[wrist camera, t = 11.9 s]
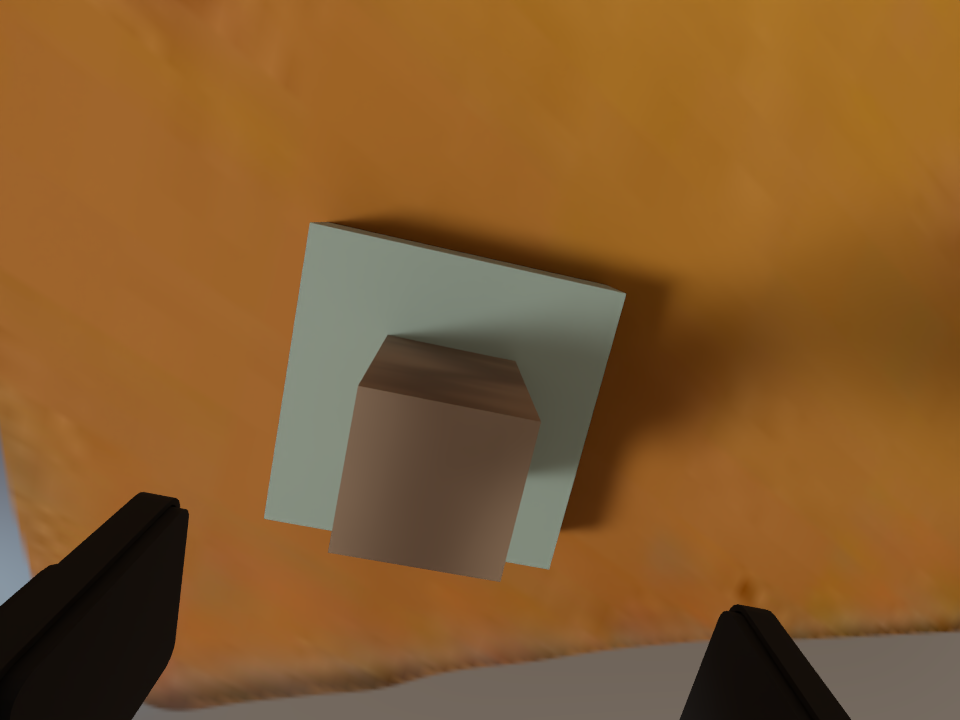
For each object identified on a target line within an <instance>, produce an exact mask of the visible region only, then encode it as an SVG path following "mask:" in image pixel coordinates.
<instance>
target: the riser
mask: <svg viewBox="0 0 960 720" xmlns="http://www.w3.org/2000/svg"><path fill="white" fill-rule="evenodd" d="M625 297H626V293H624V292H621V291H619V290H617V289H615V288H612V287H610V286H608V285H604V284H600V283H596V282H591V281H587V280H582V279H578V278H573V277H569V276H565V275H560V274H556V273H551V272H547V271H542V270H538V269H533V268H529V267H525V266H520V265H516V264H511V263H507V262H502V261H498V260H494V259H489V258H485V257H480V256H476V255H471V254H467V253H463V252H458V251H454V250H449V249H445V248H440V247H436V246H431V245H427V244H423V243H418V242H414V241H409V240H405V239H400V238H396V237H392V236H387V235H383V234H378V233H374V232H369V231H365V230H361V229H356V228H352V227H347V226H343V225H338V224H334V223H330V222H311V223H310V226H309V232H308V239H307V245H306V252H305V258H304V264H303V271H302V277H301V284H300V290H299V297H298V303H297V309H296V316H295V322H294V329H293V335H292V342H291V348H290V355H289V361H288V367H287V374H286V380H285V387H284V393H283V400H282V406H281V412H280V419H279V425H278V432H277V438H276V445H275V451H274V457H273V464H272V470H271V477H270V483H269V490H268V496H267V502H266V509H265V515H264V519H269V520H274V521H280V522H285V523H291V524H297V525H302V526H308V527H314V528H319V529H325V530H330V531H332V528H333V522H334V517H335V511H336V505H337V500H338V494H339V489H340V483H341V478H342V472H343V466H344V461H345V455H346V450H347V444H348V439H349V433H350V427H351V422H352V416H353V411H354V405H355V400H356V394H357V388H358V385H359V383H360V381H361V380H362V378H363V376H364V375H365V373H366V371H367V369H368V368H369V366H370V364H371V363H372V361H373V359H374V357H375V356H376V354H377V352H378V350H379V349H380V347H381V345H382V344H383V342H384V340H385V338H386V337H387V335H391V336H396V337H400V338H405V339H410V340H415V341H420V342H425V343H430V344H435V345H439V346H444V347H449V348H454V349H459V350H464V351H469V352H473V353H478V354H483V355H488V356H493V357H498V358H503V359H508V360H512V361H516V364H517V366H518V368H519V371H520V373H521V375H522V378H523V380H524V383H525V385H526V387H527V390H528V392H529V394H530V397H531V399H532V401H533V404H534V406H535V409H536V411H537V413H538V416H539V418H540V420H541V424H540V428H539V432H538V436H537V440H536V444H535V448H534V452H533V456H532V459H531V463H530V467H529V471H528V475H527V479H526V483H525V487H524V491H523V495H522V499H521V502H520V506H519V510H518V514H517V518H516V522H515V526H514V530H513V534H512V538H511V542H510V545H509V549H508V553H507V557H506V561H505V562H510V563H516V564H521V565H527V566H533V567H538V568H544V569H549V567H550V564H551V560H552V557H553V553H554V550H555V546H556V543H557V539H558V535H559V532H560V528H561V525H562V521H563V518H564V514H565V510H566V507H567V503H568V500H569V496H570V493H571V489H572V486H573V482H574V478H575V475H576V471H577V468H578V464H579V461H580V457H581V453H582V450H583V446H584V443H585V439H586V436H587V432H588V429H589V425H590V421H591V418H592V414H593V411H594V407H595V404H596V400H597V396H598V393H599V389H600V386H601V382H602V379H603V375H604V372H605V368H606V364H607V361H608V357H609V354H610V350H611V347H612V343H613V339H614V336H615V332H616V329H617V325H618V322H619V318H620V315H621V311H622V307H623V304H624V300H625Z"/></svg>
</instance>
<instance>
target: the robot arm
mask: <svg viewBox="0 0 960 720" xmlns="http://www.w3.org/2000/svg"><path fill="white" fill-rule="evenodd" d="M188 520H189V513H188V510H187V509H182V508H180V503H179V500H178V499H177V498H173V497H167V496H162V495H157V494H151V493H146V492H140V493H139V494H137V495H136V496H135V497H133V498H132V499H131V500H130V501H129V502H128V503H127V504H125V505H124V506H123V507H122V508H121V509H120V510H119V511H117V512H116V513H115V514H114V515H113V516H112V517H111V518H109V519H108V520H107V521H106V522H105V523H104V524H103V525H102V526H100V527H99V528H98V529H97V530H96V531H95V532H94V533H92V534H91V535H90V536H89V537H88V538H87V539H86V540H84V541H83V542H82V543H81V544H80V545H79V546H78V547H76V548H75V549H74V550H73V551H72V552H71V553H70V554H68V555H67V556H66V557H65V558H64V559H63V560H62V561H61V562H59V563H58V564H54V565H50V566H48V567H47V568H45V569H44V570H42V571H41V572H39V573H38V574H37V575H36V576H35V577H34V578H32V579H31V580H30V581H29V582H28V583H27V584H26V585H24V586H23V587H22V588H21V589H20V590H18V591H17V592H16V593H15V594H14V595H13V596H12V597H10V598H9V599H8V600H7V601H6V602H5V603H4V604H2V605H1V606H0V720H132V718H133V717H134V715H135V714H136V712H137V711H138V709H139V708H140V706H141V705H142V703H143V702H144V700H145V698H146V697H147V695H148V694H149V692H150V691H151V689H152V688H153V686H154V685H155V683H156V682H157V680H158V679H159V677H160V676H161V674H162V672H163V671H164V669H165V668H166V666H167V664H168V662H169V660H170V658H171V655H172V652H173V649H174V645H175V638H176V629H177V620H178V611H179V602H180V593H181V584H182V575H183V566H184V556H185V547H186V538H187V529H188ZM680 720H851V719H850V717H849V716H848V715H847V713H846V712H845V711H844V709H843V708H842V706H841V705H840V704H839V703H838V701H837V700H836V698H835V697H834V696H833V694H832V693H831V691H830V690H829V689H828V688H827V686H826V685H825V684H824V682H823V681H822V679H821V678H820V677H819V675H818V674H817V673H816V672H815V670H814V668H813V667H812V666H811V665H810V663H809V662H808V660H807V659H806V658H805V656H804V655H803V654H802V652H801V651H800V649H799V648H798V647H797V645H796V644H795V643H794V641H793V640H792V638H791V637H790V636H789V634H788V633H787V632H786V630H785V629H784V628H783V626H782V625H781V624H780V622H779V621H778V619H777V618H776V617H775V615H774V614H773V613H772V612H771V611H768V610H765V609H760V608H755V607H749V606H744V605H739V604H737V605H734V606H733V607H731V608H730V610H729V611H724V612H723V613H722V614H721V615H720V617H719V619H718V622H717V624H716V627H715V629H714V632H713V635H712V637H711V640H710V642H709V645H708V648H707V650H706V653H705V656H704V658H703V660H702V663H701V666H700V669H699V671H698V674H697V676H696V679H695V681H694V684H693V686H692V689H691V692H690V694H689V697H688V699H687V702H686V705H685V707H684V710H683V713H682V715H681V717H680Z"/></svg>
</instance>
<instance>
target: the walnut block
mask: <svg viewBox="0 0 960 720" xmlns="http://www.w3.org/2000/svg"><path fill="white" fill-rule="evenodd" d="M540 424H541V420H540V418H539V416H538V413H537V411H536V409H535V406H534V404H533V401H532V399H531V397H530V394H529V392H528V390H527V387H526V385H525V383H524V380H523V378H522V375H521V373H520V371H519V368H518V366H517V364H516V361H512V360H508V359H503V358H498V357H493V356H488V355H483V354H478V353H473V352H469V351H464V350H459V349H454V348H449V347H444V346H439V345H435V344H430V343H425V342H420V341H415V340H410V339H405V338H400V337H396V336H391V335H387V337H386V338H385V340H384V342H383V344H382V345H381V347H380V349H379V350H378V352H377V354H376V356H375V357H374V359H373V361H372V363H371V364H370V366H369V368H368V369H367V371H366V373H365V375H364V376H363V378H362V380H361V381H360V383H359V385H358V388H357V394H356V400H355V405H354V411H353V416H352V422H351V427H350V433H349V439H348V444H347V450H346V455H345V461H344V466H343V472H342V478H341V483H340V489H339V494H338V500H337V505H336V511H335V517H334V522H333V528H332V533H331V539H330V544H329V550H328V553H334V554H340V555H346V556H352V557H357V558H363V559H369V560H375V561H381V562H387V563H393V564H399V565H404V566H410V567H416V568H422V569H428V570H434V571H440V572H445V573H451V574H457V575H463V576H469V577H475V578H481V579H487V580H492V581H498V582H500V581H501V577H502V573H503V569H504V565H505V561H506V557H507V553H508V549H509V545H510V542H511V538H512V534H513V530H514V526H515V522H516V518H517V514H518V510H519V506H520V502H521V499H522V495H523V491H524V487H525V483H526V479H527V475H528V471H529V467H530V463H531V459H532V456H533V452H534V448H535V444H536V440H537V436H538V432H539V428H540Z"/></svg>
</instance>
